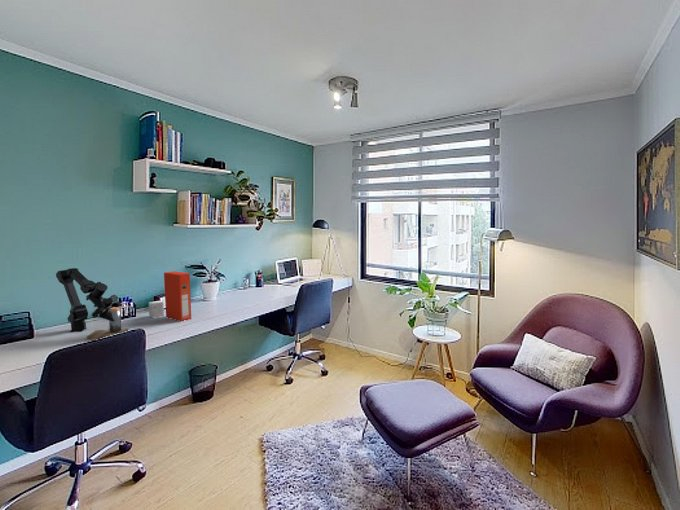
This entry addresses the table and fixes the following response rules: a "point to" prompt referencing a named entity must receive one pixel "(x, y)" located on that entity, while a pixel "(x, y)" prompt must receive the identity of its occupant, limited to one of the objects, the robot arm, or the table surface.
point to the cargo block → (114, 309)
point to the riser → (103, 333)
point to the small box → (156, 309)
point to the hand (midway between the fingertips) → (117, 319)
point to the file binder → (177, 295)
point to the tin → (115, 321)
